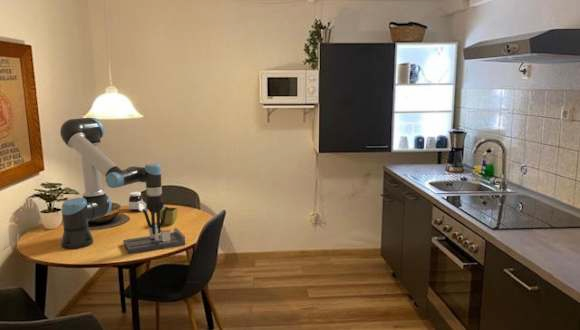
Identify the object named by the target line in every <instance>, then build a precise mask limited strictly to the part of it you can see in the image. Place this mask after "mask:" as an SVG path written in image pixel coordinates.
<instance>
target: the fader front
mask: <svg viewBox="0 0 580 330" xmlns="http://www.w3.org/2000/svg"><path fill="white" fill-rule="evenodd" d="M170 233H171V228H169V227H160V233H159V235H160V234H161V241H162V242H165V241H170Z"/></svg>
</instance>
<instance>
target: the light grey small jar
mask: <svg viewBox="0 0 580 330" xmlns="http://www.w3.org/2000/svg"><path fill="white" fill-rule="evenodd" d="M155 227H157V223H155ZM148 231H149V233H148V234H149V235H148V236H150V238H151V239H152V238H155V236H154V234H153V233H152V228H150V227H149V226H148ZM158 235H160V233H158Z"/></svg>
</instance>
